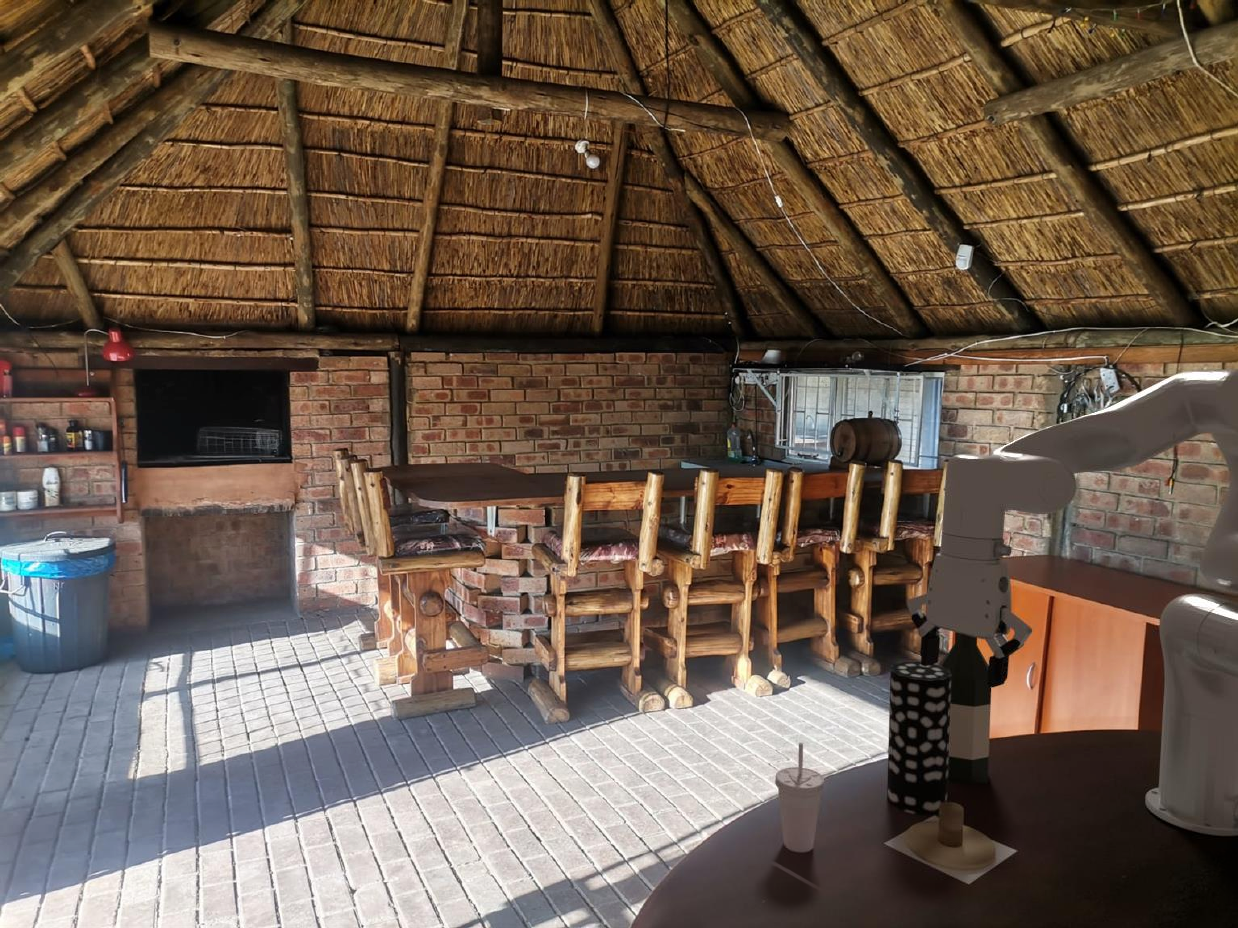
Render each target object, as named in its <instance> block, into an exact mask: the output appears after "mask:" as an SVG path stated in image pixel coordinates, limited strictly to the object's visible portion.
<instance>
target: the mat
mask: <svg viewBox="0 0 1238 928" xmlns="http://www.w3.org/2000/svg"><path fill="white" fill-rule="evenodd" d="M924 821H939V816H937V815H933V816H931V817H928V818H927V819H925V820H924ZM924 821H922V822H924ZM907 831H908V829H907V830H905V831H903V832H901V833H900V834H898V835H897V836H895V837H893V838H891V839H889V840H888V841H886V842H884V843H883V845H885V846H887V847H889V848H892V849H893V850H896V851H898V852H900V853H902V854H904V855H906V856H908V857H910V858H913V859H915V860H917V861H919V862H920V863H921V862H922V863H923V864H925V865H927V866H929V867H931V868H934V869H936V870H938V871H940V872H941V873H944V874H946V875H947V876H950V877H952V878H954V879H956V880H959V881H961V882H963V883H965V884H967V885H970V884H971V883H973V882H975V881H976V880H977V879H979V878H980V877H982V876H983V875H985V874H987V873H988V872H989V871H990V870H992V869H994V868H995V867H996V866H998V865H999V864H1001V863H1002V862H1004V861H1005V860H1007V859H1008V858H1009V857H1011V856H1013V855H1014V854H1015V853H1018V850H1017V849H1014V848H1013V847H1009V846H1007V845H1005V844H1002V843H1000V842H997V841H995V840H993V839H990V838H989V839H990V840H991V841H992V842H993V844H994V846H995V849H996V855H995V860H994V862H993V863H992V864H991V865H989V866H988V867H985V868H982V869H978V870H954V869H948V868H944V867H940V866H937V865H934V864H931V863H929V862H927V861H925V860H923V859H921V858H920V857H918V856H917V855H915V854H914V853H913V852H912V851H911V850H910V849H909V847H908V845H907V843H906V833H907Z"/></svg>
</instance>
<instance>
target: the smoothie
mask: <svg viewBox="0 0 1238 928" xmlns="http://www.w3.org/2000/svg"><path fill="white" fill-rule="evenodd" d="M803 757H804V743H803V742H798V758H797V759H798V763H797V764H798V766H789V767H785V768H783V769H780V770H778V771H777V772H776V774H775V780H774V784H775V786H776V787H777V791H778V798H779V800H778V801H779V809H780V810H779V811H780V816H781V818H780V819H781V826H782V837H783V845H784V847H785V848H787V849H788V850H789V851H791V852H796V853H807V852H811V851H812V850H813V848H814V845H815V844H814V842H815V837H816V830H817V829H816V828H817V824H818V823H817V822H818V817H819V816H818V815H819V810H820V803H821V796H822V792H823V791H824V789H825V778H824V776H823V775H822V774H820V773H819V772H818V771H816V770H814V769H810V768H807V767H803V765H804V764H803V762H804V758H803Z"/></svg>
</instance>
